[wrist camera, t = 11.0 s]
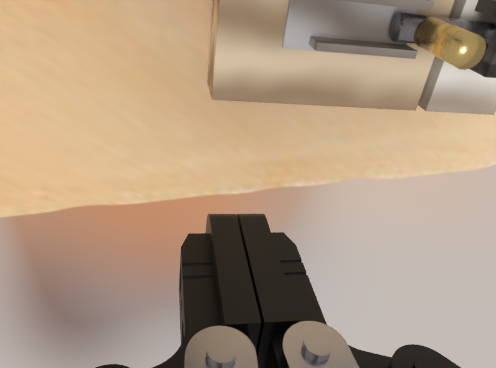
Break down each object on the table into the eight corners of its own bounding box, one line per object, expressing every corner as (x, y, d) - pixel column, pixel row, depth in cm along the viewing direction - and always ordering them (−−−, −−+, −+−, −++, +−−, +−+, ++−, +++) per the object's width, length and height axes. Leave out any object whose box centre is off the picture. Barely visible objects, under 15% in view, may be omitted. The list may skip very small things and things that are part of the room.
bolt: (395, 8, 31) (447, 31, 26) (510, 21, 33) (582, 44, 28) (386, 39, 32) (434, 67, 27) (498, 49, 35) (565, 77, 29)
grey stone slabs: (221, -113, 29) (238, -118, 23) (535, -64, 35) (622, -57, 28) (207, 82, 37) (216, 120, 30) (467, 98, 42) (524, 134, 35)
